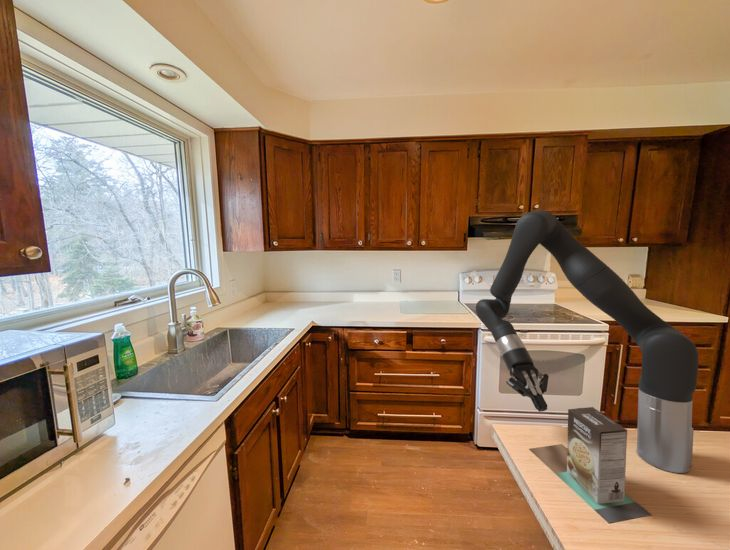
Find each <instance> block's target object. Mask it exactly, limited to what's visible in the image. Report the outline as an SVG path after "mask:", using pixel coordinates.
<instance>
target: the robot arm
mask: <svg viewBox="0 0 730 550" xmlns="http://www.w3.org/2000/svg"><path fill="white" fill-rule="evenodd" d="M519 217H520V218H518V220H517V221H516V224H515V228H514V230H513V233H512V237H511V240H510V244H509V246H508V248H507V249H508V250H507V251H506V252H507V253H506V254H505V258H504V260H503V261H502V263H501V266H500V267H499V270H498V272H497V274H496V276H495V278H494V280H493V282H492V283H491V286H490V289H489V291H490V294H491V296H493V297H494V298H495V299H491V298H484V299H483V298H482V299H479V300H478V301H477V303H476V305H475V313H476V315H477V317H478V318H479V320H480V322H482V324H483V325H484V327H486V328H487V330H488V331H489V332H490V333H491V336H492V337H493V340H494V341H495V343H496V346H497V349H498V351H499V354H500V355H501V358H502V360H503V362H504V364H505V366H506V369H507V370H508V372H509V378H508V379H507V380H506V381H505V382H506V385H508V386H509V387H511V388H512V389H513V390H514V391H516V392H517V393H518V394H520V395H521V396H522V397H527V398H529V399H530V400H531V402H532V405H533V406H534V408H535V410H537V412H539V413H540V412H545V411H547V410H548V404H547V402H546V400H545V399H544V397H543V394H544V393H546V392H547V389H548V385H549V384H548V383H549V374H548V373H544V374H543V373H541V372H540V371H539V369H538V368H537V367H536V366H535V365H534V361H533V359H532V357H531V355H530V353H529V351H528V349H527V347H526V345H525V344H524V342H523V341H522V339H521V338H520V337H519V335H518V333H517V332H516V329H515V327H514V326H513V324H512V323H511V322H510V321H509V320H505V318H506V317H507V315H508V314H509V312H510V309H511V308H510V306H511V303H512V298H513V294H514V293H515V291H516V289H517V287H518V286H519V284H520V282H521V280H522V277H523V274H524V270H525V267H526V264H527V262H528V260H529V259H530V257H531V255H532V254H533V252H534V251H535V250H536V248H538V246H539V245H541V246H542V248H544V249H545V250H546V251H547V252H549V253H550V255H552V257H553V258H554V259H555V260H556V262H557V263H558V265H559V267H560V268H561V271H562V272H563V274H564V276H565V277H566V279H567V281H569V283H570V284H571V285H572V287H574V289H576V290H577V291H578V292H579V293H580V294H581V295H582V296H583V297H584V298H585V299H586V300H587V301H589V303H591V304H593V306H595V307H596V308H598V309H599V310H601V311H602V312H603V313H604V314H606V315H607V316H609V317H610V318H612V319H613V320H614V321H615V322H616V323H618V324H619V325H620V326H621V328H623V330H624V331H626V333H627V334H628V335H629V336H630V338H632V340H633V342H634V343H635V344H636V345H637V346H638V348H639V349H640V351H641V373H640V376H639V378H638V398H637V399H638V400H637V429H636V430H637V433H636V434H637V435H636V453H637V456H638V457H639V458H640V459H642V460H643V461H644V462H645V463H648V464H650V465H651V466H653V467H655V468H658V469H661V470H664V471H665V472H670V473H675V474H685V473H688V472H689V471H690V467H692V466H693V450H694V449H693V446H694V428H693V427H692V423H693V399H694V397H693V396H694V393H695V391H696V388H697V384H698V375H699V374H698V372H699V360H700V359H699V351H698V348H697V346H696V343H694V342H693V341H692V340H691V339H690V338H688V337H687V336H686V335H685V334H684V333H682V332H681V331H679V330H678V329H676V328H675V327H673V326H672V325H670V324H669V323H668V322H666V321H665V320H663V318H661V317H659V316H658V314H656V313H654V312H653V311H652V310H651V309H650V308H649V307H647V306H646V305H645V304H644V303H643V302H642V301H641V299H640V298H639V297H638V296H637V294H636V293H635V292H634V290H633V289H632V288H631V287H630V286H629V285H628V284H627V283H626V282H625V281H624V280H623V279H622V277H621V276H620V275H619V274H617V273H616V272H615V270H613V269H611V267H610V266H609V265H607V264H606V263H605V262H603V260H601V259H600V258H599V257H598V256H596V255H595V254H594V253H593V252H592V251H590V250H589V249H588V248H587V247H586V246H584V245H583V244H582V243H580V241H578V240H577V239H576V238H575V237H574V236H573V235H572V234H571V233H570V232H569V231H568V229H567V228H566V227H565V226H564V225H563V224H562V222H561V221H559V219H558V218H557V217H556V216H555V215H554V214H553V213H552V212H550V211H548V210H544V209H536V210H533V211H530V212H527V213H525V214H522V216H519Z"/></svg>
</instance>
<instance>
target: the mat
mask: <svg viewBox="0 0 730 550" xmlns="http://www.w3.org/2000/svg"><path fill="white" fill-rule="evenodd" d="M528 450H529V451H530V452H531V453H532V454H533V455H534V456H535V457H537V459H539V460H540V461H541V462H542V463H543V464H544V465H545V466H546V467H547V468H548V469H550V471H551V472H552V473H554V474H555V475H556V476H557V477H558V478H559V479H561V481H562V482H564V484H566V485H567V486H568V487H569V488H570V489H571V490H572V491H573V492H574V493H575V494H576V495H577V496H579V497H580V498H581V499H582V500H583V502H585V503H586V504H587V505H588V506H590V508H592V509H593V510H594V511H595V512H596V513H597V514H598V515H599V516H600V517H601V518H602V519H603V520H604V521H605V522H607V524H614V523H618V522H624V521H629V520H634V519H638V518H643V517H648V516H653V514H652V513H651V512H650V511H648V510H647V509H645V508H644V507H643V506H642V505H640V504H639V503H638V502H637V501H635V500H634V499H633V498H632V497H630V496H629V495H628V494H627V493H624V502H613V503H602V504H598V503H596V502H595V501H594V500H593V499H592V498H591V497H590V496H589V495H588V494H587V493H586V492H585V490H584V489H583V488H582V487H581V486H580V485H579V484H578V483H577V482H576V481H575V480H574V479H573V478H572V477H571V476H570V475H569V474H568V473H567V446H565V445H563V444H562V443H561V444H551V445H546V446H539V447H532V448H528Z"/></svg>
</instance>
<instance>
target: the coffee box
mask: <svg viewBox="0 0 730 550" xmlns="http://www.w3.org/2000/svg"><path fill="white" fill-rule="evenodd" d="M627 440H628V429H627V428H625V427H623V426H622V425H620V424H619V423H617V421H615V420H613V419H611V418H610V417H608V416H607V415H605V414H604V413H602V412H601V411H599V410H598V409H596V408H595V407H593V406H589V407H577V408H569V409H567V446H566V448H567V473H568V474H569V475H570V476H571V477H572V478H573V479H574V480H575V481H576V482H577V483H578V484H579V485H580V486H581V487H582V488H583V489H584V490H585V492H586V493H587V494H588V495H589V496H590V497H591V498H592V499H593V500H594V501H595V502H596V503H598V504H602V503H613V502H624V493H625V490H626V488H625V487H626V468H627V467H626V466H627V445H628V444H627V443H628V441H627ZM625 494H626V493H625Z"/></svg>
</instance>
